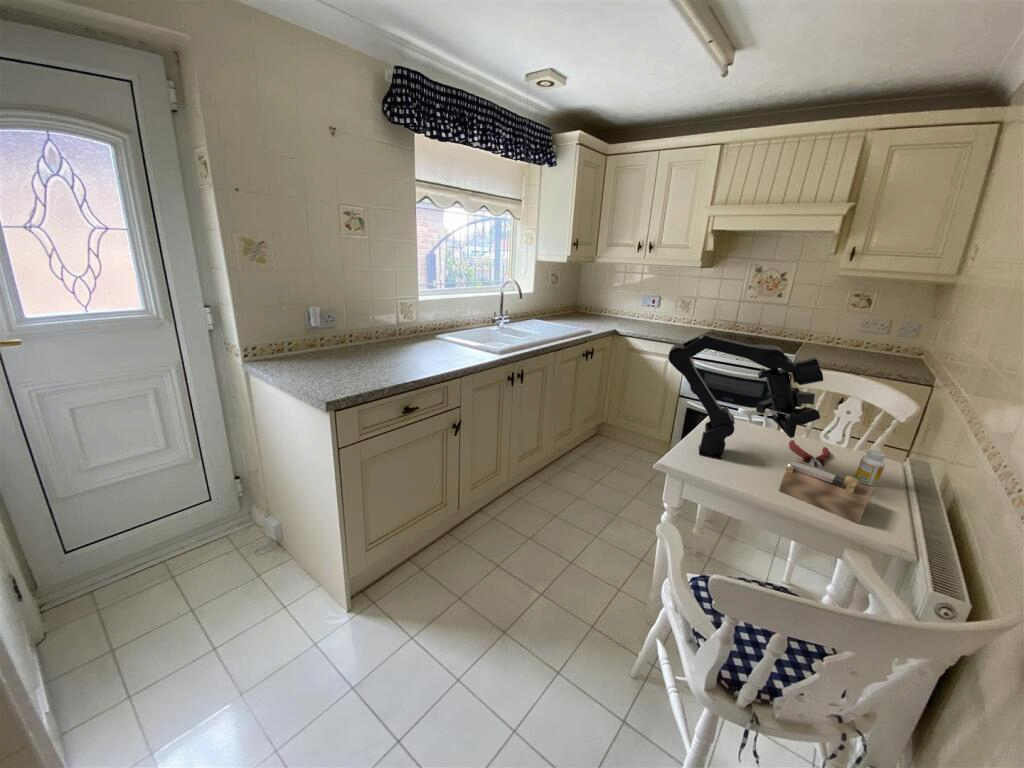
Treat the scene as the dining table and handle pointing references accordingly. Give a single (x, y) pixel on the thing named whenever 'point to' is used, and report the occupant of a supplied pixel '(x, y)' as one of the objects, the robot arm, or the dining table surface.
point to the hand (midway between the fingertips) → (791, 437)
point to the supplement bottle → (870, 467)
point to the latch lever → (817, 473)
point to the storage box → (828, 493)
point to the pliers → (809, 458)
